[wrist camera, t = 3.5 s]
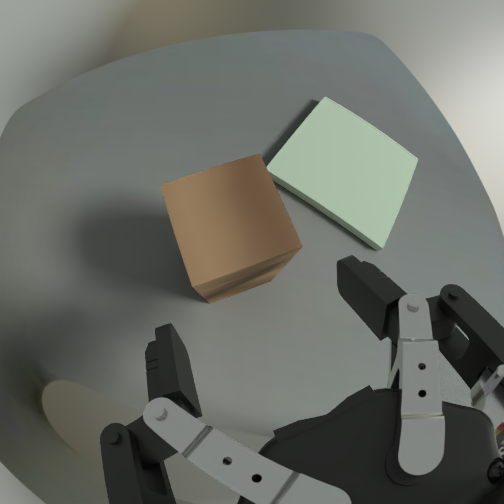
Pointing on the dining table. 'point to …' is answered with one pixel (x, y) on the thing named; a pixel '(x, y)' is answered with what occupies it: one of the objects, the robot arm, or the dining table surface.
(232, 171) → the walnut block
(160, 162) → the dining table surface
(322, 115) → the rubber mat
